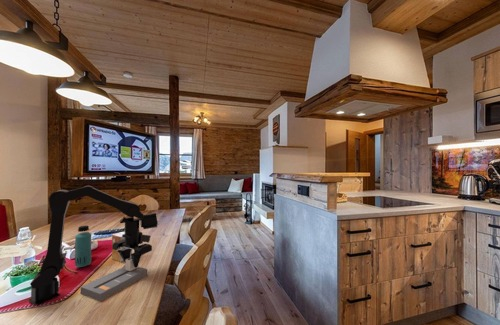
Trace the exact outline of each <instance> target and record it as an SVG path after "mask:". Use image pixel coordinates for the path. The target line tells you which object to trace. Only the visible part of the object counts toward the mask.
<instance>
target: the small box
mask: <svg viewBox="0 0 500 325" xmlns="http://www.w3.org/2000/svg"><path fill="white" fill-rule="evenodd" d="M123 234H125V231H121V232H117V233H113V234H112V235H111V236H112V237H111V246H112V245H113V244H114V242H117V241H120V240H123V239H124V240H125V237H122V235H123ZM118 250H119V248H118V249H117V250H114V249H112V248H111V259H112V260H115V261H116V262H119V263H122V262H124V260H123V258H122V257H121V255H120V254H119V253H118V252H117V251H118ZM132 253H133V249H132V250H131V253H130V257H131V254H132Z"/></svg>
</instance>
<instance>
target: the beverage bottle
mask: <svg viewBox="0 0 500 325" xmlns="http://www.w3.org/2000/svg"><path fill="white" fill-rule="evenodd" d="M89 227H90V226H89V225H81V226H79V227H78V228H77V232H79V233H77V234H76V235H75V237H74V238H75V240H74V241H75V242H74V249H75V250H74V266H75V268H81V267H86V266H89V265H90V264H92V233H91V232H89V230H90V228H89Z"/></svg>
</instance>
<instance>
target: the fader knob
mask: <svg viewBox="0 0 500 325" xmlns="http://www.w3.org/2000/svg"><path fill="white" fill-rule="evenodd" d="M125 266H126V270H128V271H132V270H134V269H135V267H134V264H133V261H132V257H130V258H128V259H126V263H125ZM137 267H139V265H138V266H137ZM137 267H136V268H137Z"/></svg>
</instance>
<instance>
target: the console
mask: <svg viewBox="0 0 500 325" xmlns="http://www.w3.org/2000/svg"><path fill="white" fill-rule="evenodd" d="M147 275H148V268H144V267H141V266H138V267H137V268H135V269H134V270H132V271H128V270H126V265H125V266H123V267H121V268H118V269H115V270H114V271H112V272H110V273H107V274H105V275H103V276H100V277H99V278H96V279H95V280H92V281H90V282H88V283H86V284H84V285H82V286H80V294H81V295H83V296H86V297H89V298H91V299H94V300H96V301H98V302H101V301H103V300H104V299H107V298H108V297H110V296H112V295H115V293H118V292H119V291H120V290H121V291H122V289H124V288H126V287H128V286H130V285H131V284H133V283H135V282H137V281H139V280H141V279H142V278H144V277H146V276H147Z"/></svg>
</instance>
